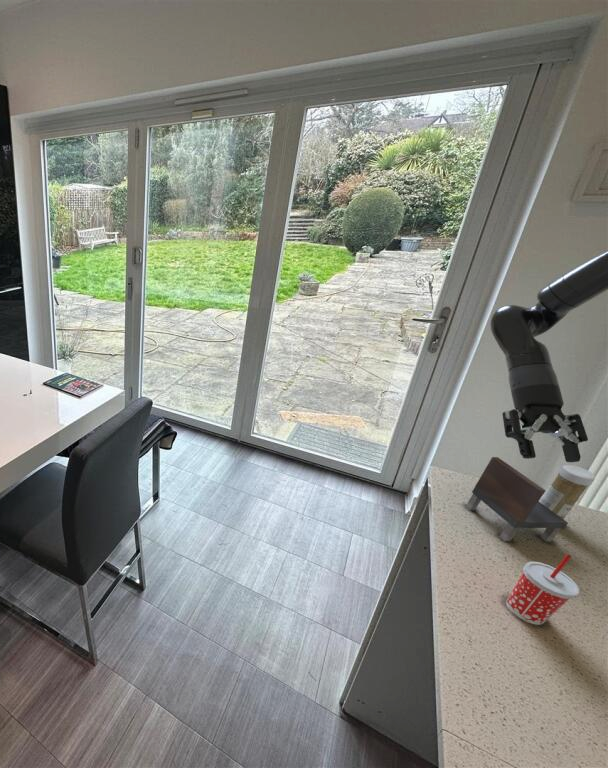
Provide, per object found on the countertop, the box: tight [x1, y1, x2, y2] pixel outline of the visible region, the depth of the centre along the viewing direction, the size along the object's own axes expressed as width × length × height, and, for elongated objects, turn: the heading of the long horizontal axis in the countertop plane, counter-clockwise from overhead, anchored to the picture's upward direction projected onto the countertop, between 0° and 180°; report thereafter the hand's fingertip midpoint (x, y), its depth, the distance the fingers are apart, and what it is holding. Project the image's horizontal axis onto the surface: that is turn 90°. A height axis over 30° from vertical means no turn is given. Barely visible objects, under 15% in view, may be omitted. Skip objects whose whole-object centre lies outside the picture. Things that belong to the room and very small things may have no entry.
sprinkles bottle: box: [539, 464, 596, 520], centre depth 84 cm, size 5×5×14 cm
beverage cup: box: [505, 554, 580, 626], centre depth 65 cm, size 6×6×14 cm
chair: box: [465, 456, 569, 542], centre depth 83 cm, size 10×10×14 cm
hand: (551, 460), depth 87 cm, fingers open, 8 cm apart
